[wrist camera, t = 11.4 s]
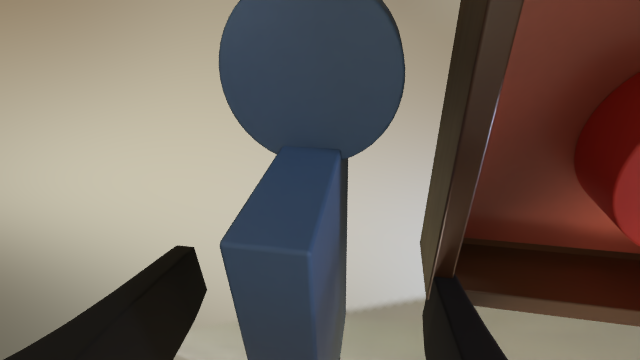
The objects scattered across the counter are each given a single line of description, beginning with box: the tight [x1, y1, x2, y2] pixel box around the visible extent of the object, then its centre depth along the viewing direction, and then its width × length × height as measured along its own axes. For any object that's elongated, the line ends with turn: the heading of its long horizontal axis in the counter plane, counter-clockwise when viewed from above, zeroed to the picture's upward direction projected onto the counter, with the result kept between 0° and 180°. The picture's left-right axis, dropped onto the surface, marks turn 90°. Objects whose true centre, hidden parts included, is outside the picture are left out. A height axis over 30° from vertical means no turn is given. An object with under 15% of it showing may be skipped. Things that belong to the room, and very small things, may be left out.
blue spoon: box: [219, 0, 405, 360], centre depth 9 cm, size 13×4×6 cm, turn 2°
